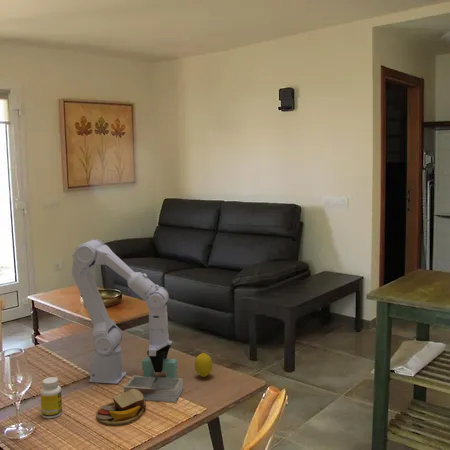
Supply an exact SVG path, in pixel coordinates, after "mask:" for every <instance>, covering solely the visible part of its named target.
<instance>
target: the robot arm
mask: <svg viewBox="0 0 450 450" xmlns="http://www.w3.org/2000/svg"><path fill="white" fill-rule="evenodd" d="M71 257H72V258H73V259H72V271H71V273H72V277H73V279H74V281H75V284H76V286H77V290H78V291H79V293H80V296H81V299H82V301H83V304H84V306H85V308H86V311H87V313H88V316H89V318H90V321H91V323H92V325H93V329H92V337H93V340H94V343H93V347H94V349H95V350H92V351H91V353H90V355H89V361H88V363H89V380H88V382H89V383H97V384H113V385H117V384H119V383H120V382H121V381H122V379H123V378H124V377H125V376H126V375H127V372H126V371H123V370H122V369H123V367H122V366H123V365H122V348H121V345H120V344H121V342H122V340H123V336H124V335H123V331H122V330H121V328H120V327H118V326H117V325H116V321H115V320H114V319H112V318H110V315H109V314H108V313H109V312H108V311H107V307H106V306H105V304H104V301H103V297H102V296H101V293H100V291H99V288H98V287H97V283H96V281H95V278H94V276H93V273H92V271H93V269H94V268H95V266H97V265H98V266H107V267H108V268H110V269H111V270H112V271H114V272H115V273H116V274H118V275H119V276H120V277H122V278H123V279H124V280H125V281H126V282H127V286H128V288H129V289H131V290H132V291H133V292H134V293H135V294H136V295H137V296H139V297H140V298H141V299H142V300H144V301H145V305H146V308H148V330H149V331H148V332H149V335H148V336H149V340H148V345H149V346H148V347H149V348H148V350H147V352H146V354H147V356H148V358H150V359H151V362H152V365H153V368H154V373H157V374H158V373H159V374H161V373H163V372H162V368H163V360H164V359H168V355H169V351H170V349H171V346H172V344H173V340H170V339H169V338H170V336H169V322H168V321H169V320H168V304H167V302H168V301H169V297H170V296H169V292H168V290H166V288H165V287H163V286H159V284H158V283H157V284H155V283H154V282H153V281H152V280H150V278H148V274H147V273H145V272H144V273H142V272H140V271H134V270H133V269H132V268H131V267H129V266H128V264H127V263H125V262H124V261H123V260H122V259H121V258H120V257H119V256H117V254H115V252H114V251H112V249H111V248H110V247H109V246H108V245H107V244H104V243H103V241H101V239H97V238H92V239H90V240H89V241H87V242H84V243H81V244H79V245H78V246H77V247H76V248H75V250H74V251H73V252H72V256H71Z"/></svg>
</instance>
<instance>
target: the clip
mask: <svg viewBox="0 0 450 450" xmlns="http://www.w3.org/2000/svg"><path fill="white" fill-rule="evenodd" d="M141 365H142V366H141V368H142V369H141V371H142V373H143V375H142V376H151V377H155V371H154V368H153V365H152V362H151V359H150V357H146V356H145V357H144V358H143V359H142V361H141ZM177 369H178V359H177V358H167V359H164V360H163V368H162V372H161V373H165V377H167V378H178V377H177V375H178V374H177V372H178V371H177Z"/></svg>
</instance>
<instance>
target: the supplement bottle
mask: <svg viewBox="0 0 450 450" xmlns="http://www.w3.org/2000/svg"><path fill="white" fill-rule="evenodd" d="M39 394H40V409H41V417H43V419H54V418H57V417H59V416H61V415H62V413H63V400H62V399H63V398H62V397H63V396H62V387H61V385H59V379H58V377H55V376H54V377H53V376H50V377H46V378H44V379H43V380H42V388H40V393H39Z"/></svg>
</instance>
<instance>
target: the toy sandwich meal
mask: <svg viewBox="0 0 450 450" xmlns="http://www.w3.org/2000/svg"><path fill="white" fill-rule="evenodd" d="M112 400H113V401H111V402H108V403H106V404H103V405H102V406H100V407H99V408H98V410H96V412H95V413H96V414H95V416H96V418H97V420H99V421H100V422H101V423H103V424H106V425H110V426H120V425H125V424H129V423H132V422H134V421H136V420H138V418H139V417H140V416H141V415H142V414H143V412H144V409H146V408H147V404H146V400H144V397H143V394H142V393H141V392H140V391H138V390H136V389H130V390H129V391H127V392H125V393H124V392H123V393H120V394H118V395H115V396H113V397H112Z"/></svg>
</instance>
